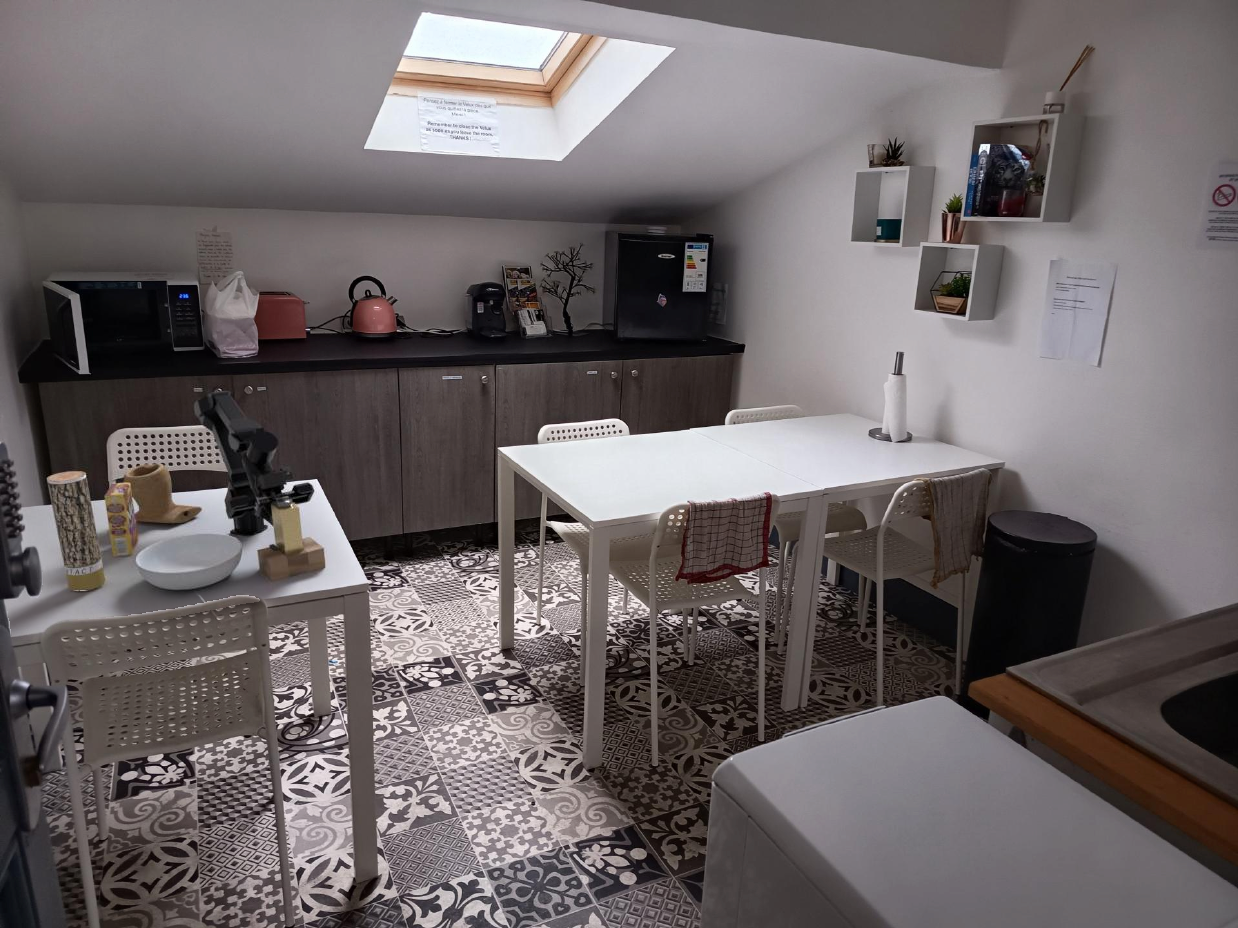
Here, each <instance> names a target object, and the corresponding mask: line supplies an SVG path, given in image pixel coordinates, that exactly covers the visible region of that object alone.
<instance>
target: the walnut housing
mask: <svg viewBox="0 0 1238 928" xmlns="http://www.w3.org/2000/svg"><path fill="white" fill-rule="evenodd" d="M302 541H303V550H302V551H298V552H294V553H290V554H286V555H284V554H283V553H281V552H280V551H279V548H278V547H277V546H276V544H274V543H273V544H269V545H268V547H263V548H261V549H257V559H258V566H259V570H260V571H261V572H262V573H263V575H265V576H266V578H268V579H269V580H270V581H271V582H277V581H280V580H284V579H287V578H291V577H294V576H298V575H302V574H306V573H308V572H313V571H316V570H320V569H323V568H326V566H327V565H326V558H325V548H324V547H323V546H322V545H320V544H319V543H318V542H317V541H316V540H315V539H313V538H312V537H311V536H310V537H304V538H302Z"/></svg>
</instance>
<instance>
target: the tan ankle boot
mask: <svg viewBox="0 0 1238 928" xmlns="http://www.w3.org/2000/svg"><path fill="white" fill-rule="evenodd" d="M123 483H130V485H131V492H132V499H133V501H135V503H136V504H137V506H138V511H136V512H134V513H135V520H136V522H142V523H143V522H144V523H156V524H157V523H159V524H160V523H161V524H179V523H180V524H181V523H186V522H188V521H191V520H192V519H193V518H195V517H197V516H198V515H199V514H200V513H201V512H202V511H203V508H202V506H192V505H184V504H177V503H176V504H175V502H174V500H173V497H172V496H173V495H172V488H173V487H172V486H173V485H172V478H171V475H170V471H169V470H168V468H167V467H166V466H165V465H164V464H162V463H159V462H156V463H153V464H148V463H147V464H141V465H138V466H135V467H133V468H131V469H129V470H128V471H127V472H125V473H124V474H123Z"/></svg>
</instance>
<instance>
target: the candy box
mask: <svg viewBox="0 0 1238 928" xmlns="http://www.w3.org/2000/svg"><path fill="white" fill-rule="evenodd" d="M104 502H105V508H106V516H107V523H108V529H109V536H110V543H111V544H110V545H111V551H112V556H116V557H126V556H132V555H133V553H134V551H135V549H136V547H137V544H138V543H139V535H138V534H139V533H138V529H137V521H136V520H135V513H136V512H135V508H134V499H133V497H132V492H131V485H130V483H124V482H118V483H112V484H111V485H110V486H109V488H108V490H107V491H106V493H105V494H104Z"/></svg>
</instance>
